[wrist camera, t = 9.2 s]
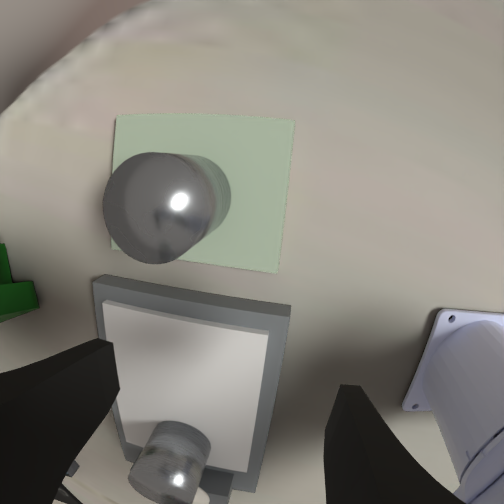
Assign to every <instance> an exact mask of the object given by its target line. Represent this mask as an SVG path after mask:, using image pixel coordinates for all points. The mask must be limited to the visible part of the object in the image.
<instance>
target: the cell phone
mask: <svg viewBox="0 0 504 504" xmlns="http://www.w3.org/2000/svg"><path fill="white" fill-rule="evenodd" d="M54 499H55V500H58V501H61V502H64V503H67V504H82V503H81V502H80V501H79V500H78V499H77V498H76V497H75V496H74V495H73V494H72V493H71V492H70V491H69V490H68V489H67V488H66V487H65V486H64V485H63V484H62V483H61V485H60V487H59V489H58V492H57V494H56V496H55V498H54Z"/></svg>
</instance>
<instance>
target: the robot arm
mask: <svg viewBox="0 0 504 504" xmlns="http://www.w3.org/2000/svg"><path fill="white" fill-rule="evenodd" d="M451 315H453V317H452V319H450V320H448V319H449V317H450V316H451ZM119 391H120V385H119V379H118V373H117V366H116V360H115V353H114V345H113V342H109V341H106V340H103V339H99V338H97V339H94V340H91V341H88V342H86V343H83V344H81V345H78V346H76V347H73V348H71V349H68V350H66V351H63V352H61V353H59V354H56V355H54V356H51V357H49V358H46V359H44V360H41V361H38V362H35V363H32V364H30V365H27V366H24V367H21V368H18V369H15V370H11V371H8V372H4V373H0V504H52V503H53V500H54V498H55V496H56V494H57V492H58V489H59V487H60V485H61V483H62V481H63V479H64V477H65V475H66V473H67V472H68V470H69V468H70V466H71V464H72V463H73V461H74V460H75V458H76V456H77V455H78V454H79V452H80V451H81V449H82V448H83V447H84V445H85V444H86V443H87V441H88V440H89V439H90V437H91V436H92V434H93V433H94V432H95V430H96V429H97V428H98V426H99V425H100V423H101V422H102V421H103V419H104V418H105V417H106V415H107V414H108V412H109V410H110V409H111V407H112V405H113V403H114V401H115V399H116V397H117V395H118V393H119ZM415 404H416V405H415ZM413 405H414V406H413ZM402 408H403V410H404V411H432V412H433V414H434V417H435V419H436V421H437V424H438V426H439V429H440V431H441V434H442V436H443V439H444V441H445V444H446V447H447V449H448V452H449V454H450V457H451V460H452V463H453V465H454V468H455V471H456V474H457V477H458V479H459V482H460V486H459V488H458V489H457V490H456V491H455V492H454V493H453V494H452V493H451V492H450V491H448V490H447V489H446V488H445V487H443V486H442V485H441V484H440V483H439V482H438V481H436V480H435V479H434V478H433V477H432V476H431V475H430V474H429V473H428V472H427V471H426V470H425V469H424V468H423V467H422V466H421V465H420V464H419V463H418V462H417V461H416V460H415V459H414V458H413V457H412V456H411V454H410V453H409V452H408V451H407V450H406V449H405V447H404V446H403V445H402V444H401V443H400V441H399V440H398V439H397V438H396V436H395V435H394V434H393V432H392V431H391V430H390V428H389V427H388V426H387V424H386V423H385V421H384V420H383V419H382V417H381V416H380V414H379V413H378V411H377V410H376V408H375V407H374V406H373V404H372V403H371V401H370V400H369V398H368V397H367V395H366V394H365V392H364V391H363V389H362V388H361V387H360V386H354V385H340V388H339V391H338V394H337V397H336V400H335V403H334V406H333V409H332V412H331V415H330V418H329V420H328V423H327V426H326V429H325V439H324V473H325V488H326V504H504V314H503V313H491V312H478V311H467V310H456V309H442V310H440V311H439V312H438V314H437V316H436V319H435V322H434V325H433V328H432V331H431V334H430V337H429V340H428V342H427V345H426V348H425V350H424V353H423V356H422V358H421V361H420V363H419V366H418V368H417V371H416V373H415V376H414V378H413V380H412V383H411V385H410V387H409V390H408V392H407V394H406V396H405V399H404V401H403V403H402Z"/></svg>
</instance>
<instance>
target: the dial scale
mask: <svg viewBox="0 0 504 504" xmlns="http://www.w3.org/2000/svg"><path fill="white" fill-rule="evenodd" d="M93 293H94V303H95V313H96V321H97V329H98V336H99V339H103V340H106V341H109V342H113V345H114V353H115V360H116V366H117V373H118V379H119V385H120V391H119V393H118V395H117V397H116V399H115V401H114V403H113V405H112V410H113V415H114V419H115V423H116V427H117V431H118V434H119V438H120V442H121V445H122V449H123V452H124V456H125V459H126V460H127V461H130V462H133V463H134V464H133V466H134V465H135V463H136V461H137V459H138V457H139V455H140V454H141V452H142V450H143V448H144V446H145V445H146V443H147V441H148V439H149V437H150V436H151V434H152V432H153V430H154V428H155V427H156V425H157V424H158V423H160V422H163V421H179V422H183V423H186V424H188V425H191V426H193V427H195V428H196V429H198V430H199V431H201V432H202V433H203V434H204V435H205V436H206V437H207V438H208V440H209V441H210V444H211V451H210V454H209V457H208V460H207V463H206V466H205V469H204V472H203V475H202V477H201V480H200V483H199V486H198V489H197V492H196V495H195V498H194V500H193V503H192V504H228V502H229V499H230V495H231V491H232V489H234V490H240V491H246V492H253V493H255V491H256V487H257V482H258V478H259V474H260V469H261V465H262V461H263V456H264V451H265V447H266V442H267V438H268V433H269V428H270V423H271V418H272V413H273V408H274V403H275V398H276V393H277V388H278V383H279V377H280V372H281V367H282V361H283V356H284V350H285V344H286V339H287V333H288V327H289V321H290V312H291V305H284V304H277V303H270V302H263V301H256V300H249V299H243V298H236V297H230V296H223V295H217V294H211V293H205V292H199V291H193V290H187V289H181V288H175V287H170V286H164V285H159V284H153V283H148V282H142V281H137V280H132V279H127V278H122V277H117V276H112V275H107V274H104V275H103V276H101V277H100V278H98V279H96V280H95V281H93ZM133 466H132V468H133ZM132 468H131V470H132ZM131 470H130V471H131Z"/></svg>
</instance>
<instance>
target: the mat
mask: <svg viewBox="0 0 504 504" xmlns="http://www.w3.org/2000/svg"><path fill="white" fill-rule="evenodd" d="M294 127H295V120H289V119H279V118H268V117H256V116H241V115H222V114H181V113H172V114H131V115H117V118H116V128H115V139H114V152H113V169H112V174H113V172H114V171H115V170H116V169H117V167H118V166H119V165H120V164H121V163H123V162H124V161H125V160H127V159H128V158H130V157H132V156H134V155H137V154H140V153H146V152H160V153H174V154H188V155H197V156H202V157H205V158H207V159H210V160H211V161H213V162H214V163H216V164H217V165H218V166H219V167H220V168H221V169H222V171H223V172H224V173H225V175H226V177H227V179H228V181H229V184H230V189H231V205H230V209H229V212H228V214H227V216H226V218H225V220H224V221H223V222H222V224H221V225H220V226H219V227H218V228H217V229H215V230H214V231H213V232H211V233H210V234H209V235H208V236H206V237H205V238H204V239H202V240H201V241H200V242H199V243H197V244H196V245H195V246H193V247H192V248H191V249H189V250H188V251H187V252H186V253H184V254H183V255H182V256H180V257H179V258H177V259H179V260H185V261H192V262H199V263H206V264H212V265H219V266H226V267H233V268H240V269H247V270H255V271H262V272H269V273H276V274H277V273H278V267H279V259H280V251H281V243H282V235H283V227H284V218H285V210H286V201H287V192H288V183H289V174H290V165H291V156H292V146H293V136H294ZM111 249H114V250H120V251H122V250H121V249H120V248H119V247H118V246H117V244H116V243H115V242H114V240H113V239H112V237H111Z"/></svg>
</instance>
